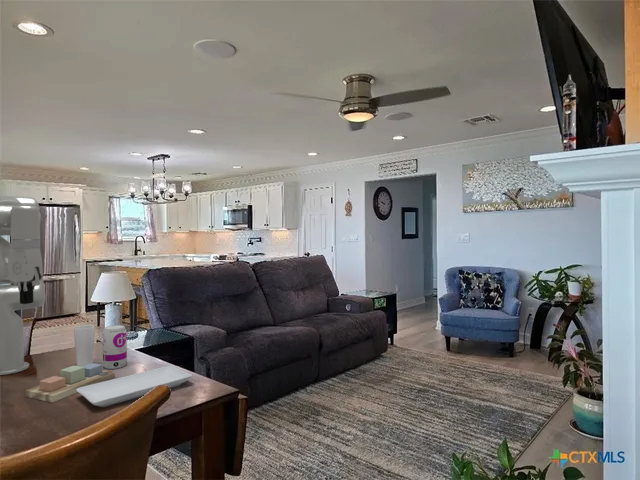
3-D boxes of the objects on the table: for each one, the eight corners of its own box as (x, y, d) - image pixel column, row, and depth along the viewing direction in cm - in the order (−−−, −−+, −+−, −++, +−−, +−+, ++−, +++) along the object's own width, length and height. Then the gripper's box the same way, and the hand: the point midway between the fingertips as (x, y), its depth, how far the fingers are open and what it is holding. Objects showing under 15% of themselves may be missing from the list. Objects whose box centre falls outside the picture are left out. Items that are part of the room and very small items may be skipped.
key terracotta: (39, 393, 132) (39, 381, 132) (54, 388, 137) (54, 375, 137) (50, 395, 130) (50, 383, 130) (65, 390, 135) (65, 377, 135)
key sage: (60, 382, 139) (60, 370, 139) (74, 377, 143) (73, 365, 143) (71, 384, 137) (71, 372, 137) (84, 379, 142) (84, 367, 141)
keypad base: (25, 396, 132) (25, 389, 132) (89, 373, 153) (89, 366, 153) (52, 402, 127) (52, 395, 127) (114, 377, 149) (114, 371, 149)
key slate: (79, 378, 145) (79, 367, 145) (91, 374, 150) (91, 363, 150) (90, 380, 143) (89, 369, 143) (102, 376, 148) (102, 364, 148)
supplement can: (131, 365, 162) (130, 326, 162) (110, 371, 155) (110, 330, 155) (119, 361, 167) (118, 323, 166) (98, 367, 160) (98, 327, 159)
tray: (74, 398, 131) (74, 387, 131) (170, 373, 154) (170, 364, 154) (93, 415, 120) (93, 403, 119) (194, 385, 142) (194, 375, 142)
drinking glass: (86, 369, 157) (85, 329, 157) (70, 368, 159) (69, 328, 158) (98, 363, 164) (98, 325, 164) (83, 362, 165) (83, 324, 165)
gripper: (-3, 245, 131) (-2, 303, 132) (30, 246, 126) (31, 307, 126) (21, 244, 138) (22, 299, 139) (53, 245, 133) (54, 302, 133)
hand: (26, 303), depth 133 cm, fingers closed
